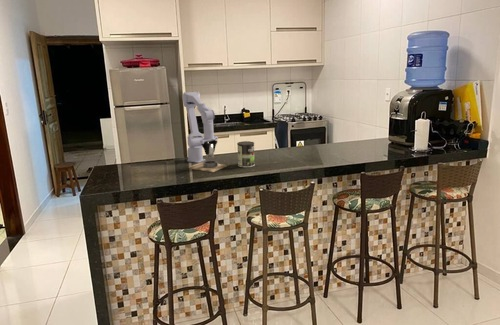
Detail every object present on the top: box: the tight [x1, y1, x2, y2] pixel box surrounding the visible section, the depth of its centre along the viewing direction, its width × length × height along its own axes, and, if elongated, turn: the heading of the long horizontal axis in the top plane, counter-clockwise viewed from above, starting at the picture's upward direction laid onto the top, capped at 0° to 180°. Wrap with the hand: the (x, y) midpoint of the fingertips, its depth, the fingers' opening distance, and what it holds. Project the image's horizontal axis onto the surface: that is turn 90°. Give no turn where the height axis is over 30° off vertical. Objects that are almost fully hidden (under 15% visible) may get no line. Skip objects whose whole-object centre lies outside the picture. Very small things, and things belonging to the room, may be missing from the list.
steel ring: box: [202, 159, 219, 168], centre depth 221 cm, size 8×8×2 cm
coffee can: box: [236, 140, 256, 168], centre depth 223 cm, size 10×10×14 cm
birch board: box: [188, 161, 228, 173], centre depth 222 cm, size 18×14×1 cm
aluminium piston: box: [205, 143, 215, 159], centre depth 219 cm, size 4×4×8 cm
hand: (209, 153), depth 219 cm, fingers closed on aluminium piston, 4 cm apart
